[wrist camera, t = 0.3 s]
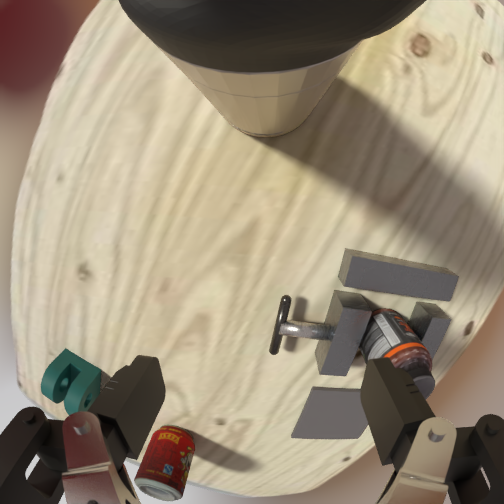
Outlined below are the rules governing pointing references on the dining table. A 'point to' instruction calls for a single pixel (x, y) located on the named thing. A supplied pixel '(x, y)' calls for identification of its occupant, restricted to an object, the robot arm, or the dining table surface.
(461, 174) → the dining table surface
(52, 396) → the bracket
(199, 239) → the dining table surface
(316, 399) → the mat
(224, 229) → the dining table surface
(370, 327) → the supplement bottle
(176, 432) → the soda can
